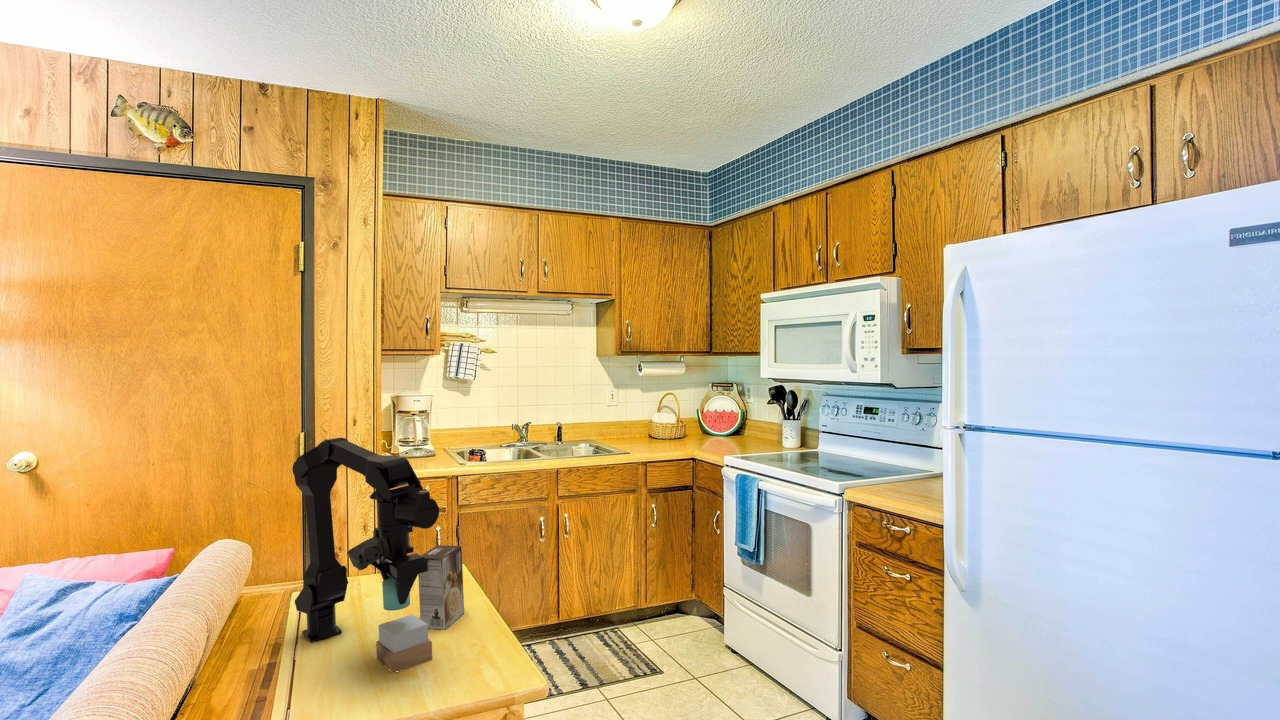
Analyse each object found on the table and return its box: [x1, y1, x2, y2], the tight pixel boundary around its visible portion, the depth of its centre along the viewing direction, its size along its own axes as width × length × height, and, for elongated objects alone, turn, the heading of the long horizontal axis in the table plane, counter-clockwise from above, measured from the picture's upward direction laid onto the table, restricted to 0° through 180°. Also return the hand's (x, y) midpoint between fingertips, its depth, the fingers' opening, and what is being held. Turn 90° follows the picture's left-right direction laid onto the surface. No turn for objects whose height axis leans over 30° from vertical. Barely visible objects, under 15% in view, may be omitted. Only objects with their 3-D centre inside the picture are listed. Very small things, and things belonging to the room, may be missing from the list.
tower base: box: [375, 638, 433, 674], centre depth 135 cm, size 8×8×4 cm
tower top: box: [378, 614, 429, 653], centre depth 135 cm, size 7×7×4 cm
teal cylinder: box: [381, 578, 411, 612], centre depth 134 cm, size 5×5×5 cm
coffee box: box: [417, 544, 465, 630], centre depth 153 cm, size 9×6×16 cm
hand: (396, 600), depth 134 cm, fingers closed on teal cylinder, 5 cm apart
